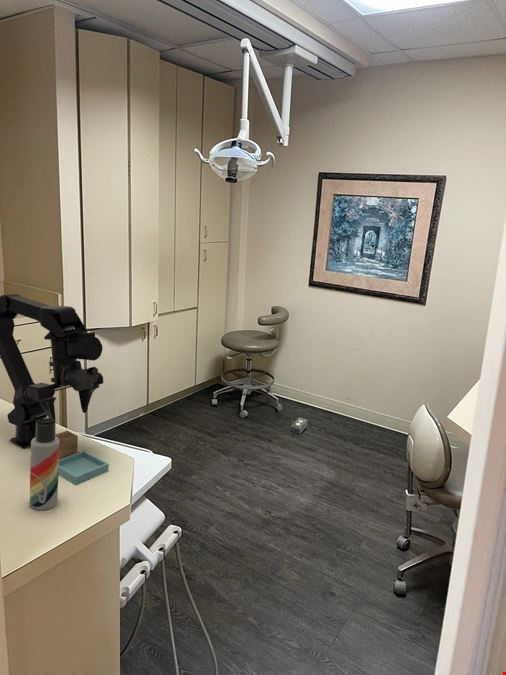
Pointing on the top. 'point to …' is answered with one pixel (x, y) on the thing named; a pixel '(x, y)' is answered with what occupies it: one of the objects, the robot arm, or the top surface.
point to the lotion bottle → (44, 465)
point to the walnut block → (67, 444)
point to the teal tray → (81, 467)
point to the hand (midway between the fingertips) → (69, 417)
